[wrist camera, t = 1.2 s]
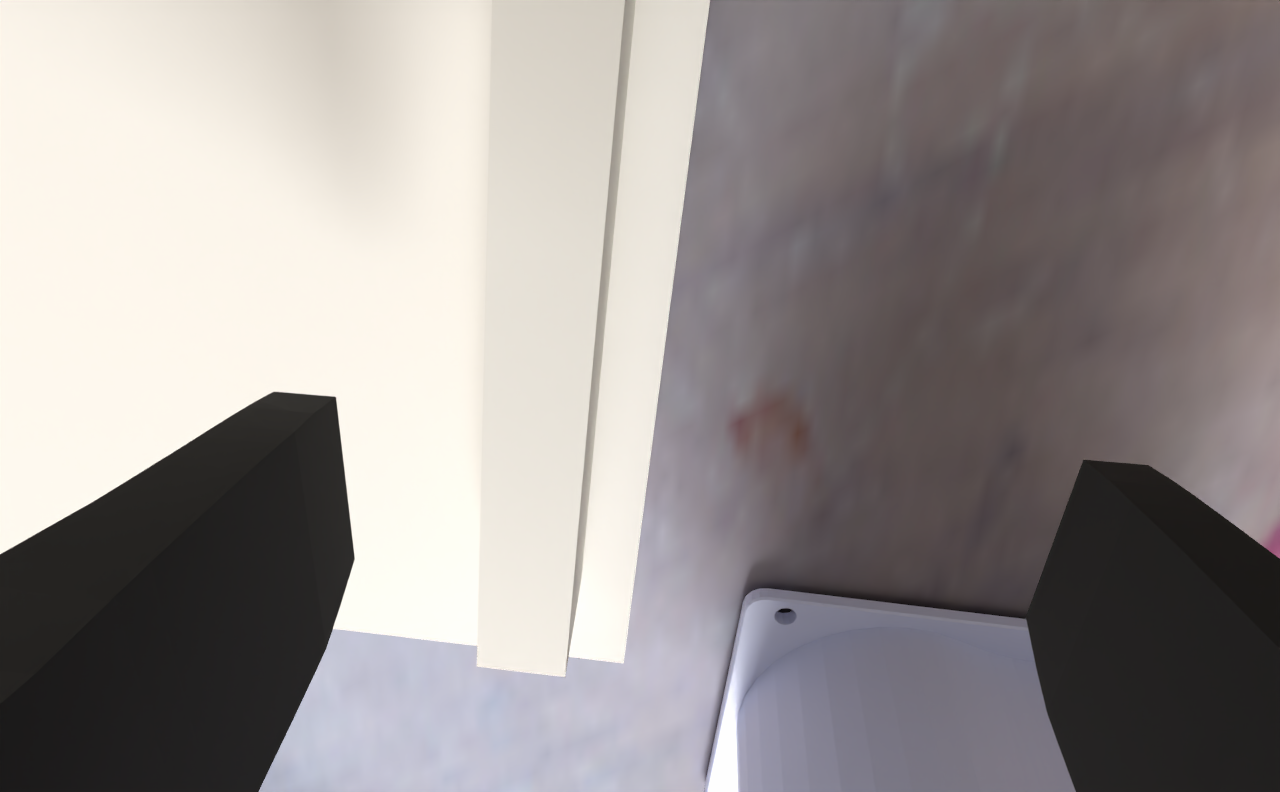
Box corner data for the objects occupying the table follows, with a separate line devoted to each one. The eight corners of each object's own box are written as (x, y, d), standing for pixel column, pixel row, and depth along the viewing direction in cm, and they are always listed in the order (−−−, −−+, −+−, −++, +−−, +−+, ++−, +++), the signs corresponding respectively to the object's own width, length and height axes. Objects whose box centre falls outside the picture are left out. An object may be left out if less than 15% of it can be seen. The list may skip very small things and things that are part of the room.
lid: (742, -248, 10) (750, -263, 8) (626, 640, 16) (613, 767, 14) (-876, -443, 10) (-1311, -509, 8) (-359, 523, 16) (-519, 630, 14)
